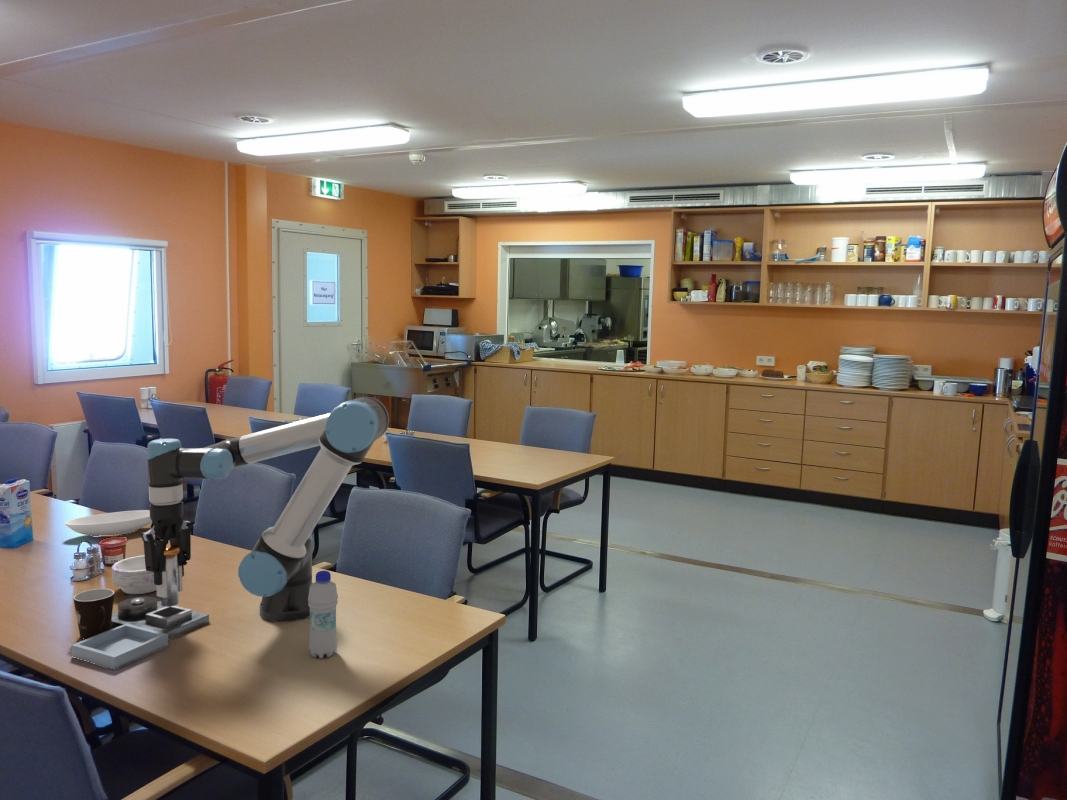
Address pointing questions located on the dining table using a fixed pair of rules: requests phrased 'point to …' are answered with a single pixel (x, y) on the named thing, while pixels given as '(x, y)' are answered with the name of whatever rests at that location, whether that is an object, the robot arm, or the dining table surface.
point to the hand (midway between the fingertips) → (169, 593)
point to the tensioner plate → (157, 616)
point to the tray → (120, 646)
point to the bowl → (111, 523)
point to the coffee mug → (94, 611)
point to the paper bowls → (133, 576)
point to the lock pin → (171, 576)
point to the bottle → (322, 615)
